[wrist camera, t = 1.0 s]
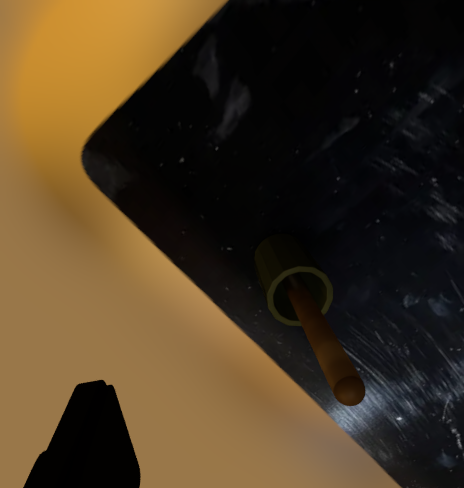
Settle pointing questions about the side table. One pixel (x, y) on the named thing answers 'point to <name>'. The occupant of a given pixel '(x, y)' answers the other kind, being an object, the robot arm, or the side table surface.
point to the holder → (286, 263)
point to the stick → (325, 344)
